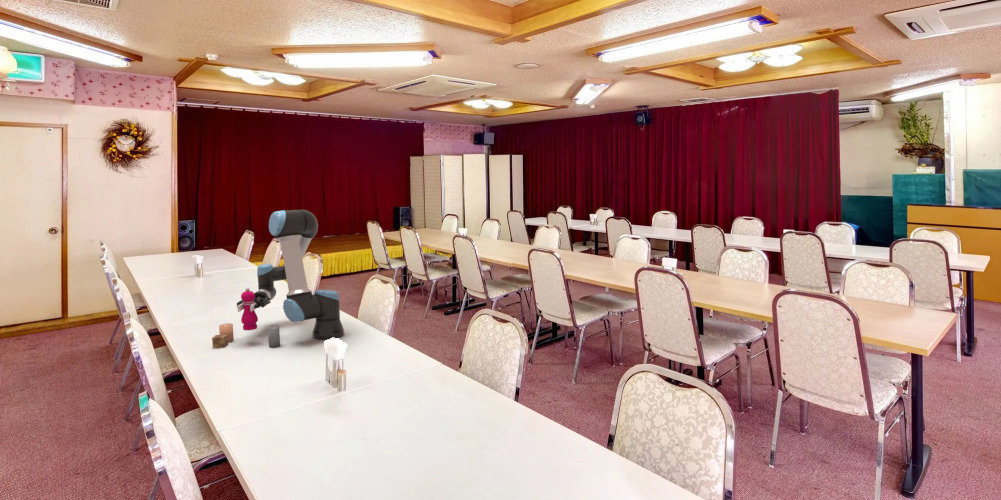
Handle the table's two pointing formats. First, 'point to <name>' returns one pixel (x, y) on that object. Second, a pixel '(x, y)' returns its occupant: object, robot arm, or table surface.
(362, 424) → the table surface
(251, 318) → the pepper mill
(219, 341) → the walnut block
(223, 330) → the peach round cylinder
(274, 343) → the charcoal salt shaker
